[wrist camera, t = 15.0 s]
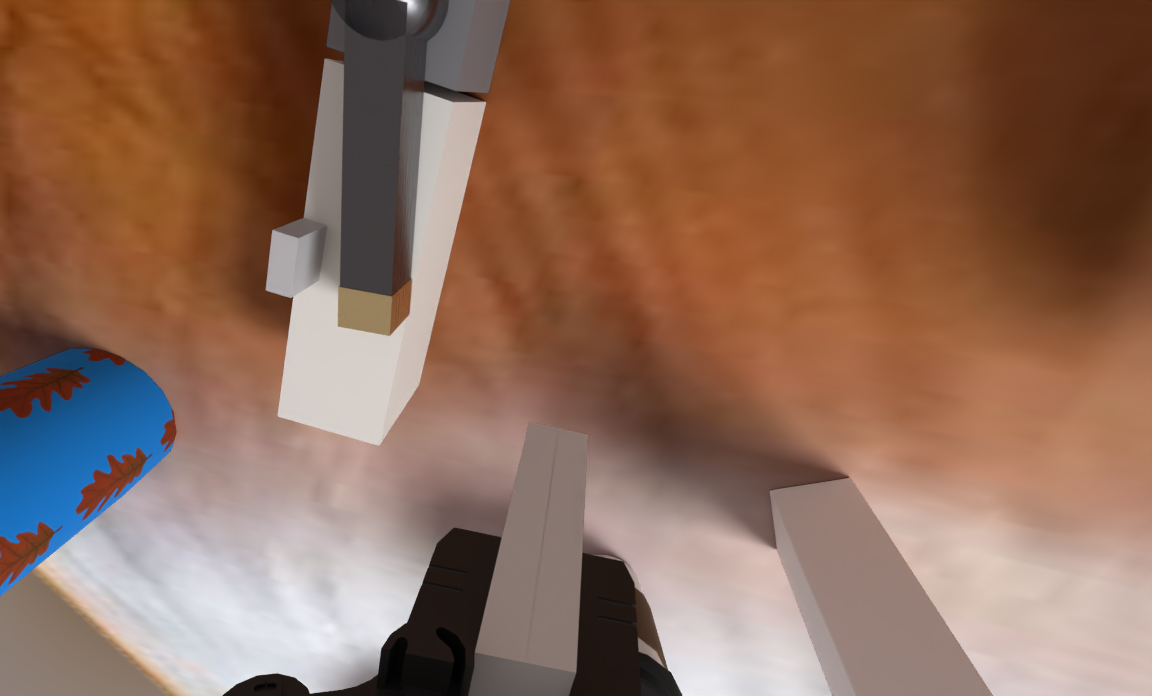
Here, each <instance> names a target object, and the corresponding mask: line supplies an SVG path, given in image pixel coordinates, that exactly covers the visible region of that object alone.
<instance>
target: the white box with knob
mask: <svg viewBox="0 0 1152 696" xmlns="http://www.w3.org/2000/svg"><path fill="white" fill-rule="evenodd" d="M509 4H510V0H449V5H448V11H447V15H446V18H445V21H444V23H443V25H442V27H441V29H440V30H439V31H438V33H437V34H436V35H435V36H434V37H433V38H431V39H430V40H429V41H427V53H426V68H425V82H424V97H423V112H422V126H421V141H420V155H419V170H418V184H417V199H416V213H415V228H414V242H413V257H412V272H411V278H412V290H411V304H410V314H409V316H408V317H407V318H406V319H405V320H404V321H403V322H402V323H401V324H400V325H399V327H398V328H397V329H396V330H395V331H394V332H393V333H392V334H391V335H390V336H387V335H382V334H376V333H370V332H365V331H359V330H354V329H348V328H343V327H338V287H339V286H340V252H341V198H342V145H343V91H344V61H339V60H332V59H326V58H325V60H324V67H323V75H322V83H321V90H320V98H319V105H318V113H317V121H316V128H315V136H314V144H313V151H312V159H311V166H310V174H309V182H308V189H307V197H306V204H305V212H304V218H302V219H299V220H297V221H294V222H292V223H289V224H287V225H284V226H281V227H279V228H276V229H274V230H272V238H271V247H270V256H269V265H268V274H267V283H266V291H269V292H273V293H276V294H279V295H282V296H286V297H289V298H292V297H293V303H292V311H291V319H290V326H289V334H288V342H287V349H286V357H285V364H284V372H283V380H282V387H281V395H280V402H279V410H278V417H282V418H285V419H288V420H292V421H295V422H299V423H302V424H306V425H309V426H313V427H316V428H319V429H323V430H326V431H330V432H333V433H337V434H340V435H343V436H347V437H350V438H354V439H357V440H361V441H364V442H368V443H371V444H374V445H378V446H379V445H380V444H381V442H382V441H383V439H384V438H385V436H386V435H387V433H388V432H389V430H390V428H391V427H392V425H393V424H394V422H395V421H396V419H397V418H398V416H399V415H400V413H401V412H402V410H403V409H404V407H405V406H406V404H407V402H408V401H409V399H410V398H411V396H412V395H413V393H414V392H415V390H416V389H417V387H418V386H419V383H420V379H421V374H422V370H423V366H424V362H425V358H426V353H427V349H428V345H429V341H430V336H431V332H432V328H433V324H434V320H435V315H436V311H437V307H438V303H439V299H440V294H441V290H442V286H443V282H444V278H445V273H446V269H447V265H448V261H449V257H450V252H451V248H452V244H453V240H454V236H455V231H456V227H457V223H458V219H459V214H460V210H461V206H462V202H463V198H464V193H465V189H466V185H467V181H468V177H469V172H470V168H471V164H472V160H473V156H474V151H475V147H476V143H477V139H478V135H479V130H480V126H481V122H482V118H483V114H484V109H485V105H486V102H485V101H482V100H479V99H476V98H473V97H470V96H467V95H464V94H462V93H459V92H456V91H463V92H479V93H488V92H489V88H490V84H491V80H492V76H493V71H494V67H495V63H496V59H497V55H498V50H499V46H500V42H501V38H502V34H503V29H504V25H505V21H506V17H507V13H508V8H509ZM344 38H345V22H344V21H343V20H342V19H341V17H340V16H339V15H338V13H337V12H336V10H335V8H334V6H333V4H332V6H331V14H330V22H329V29H328V37H327V45H326V47H329V48H332V49H335V50H338V51H341V52H344ZM427 81H428V82H427ZM430 82H431V83H430ZM432 83H434V84H432ZM435 84H437V85H435ZM438 85H440V86H438ZM441 86H443V87H441ZM444 87H446V88H444ZM447 88H449V89H447ZM450 89H452V90H450ZM453 90H454V91H453Z"/></svg>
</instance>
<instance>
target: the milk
mask: <svg viewBox="0 0 1152 696" xmlns="http://www.w3.org/2000/svg"><path fill="white" fill-rule="evenodd" d="M770 499H771V506H772V514H773V522H774V530H775V538H776V545H777V552H778V555H779V557H780V560H781V562H782V565H783V568H784V570H785V573H786V575H787V578H788V581H789V583H790V586H791V589H792V591H793V594H794V596H795V599H796V602H797V604H798V607H799V610H800V612H801V615H802V617H803V620H804V623H805V625H806V628H807V630H808V633H809V636H810V638H811V641H812V644H813V646H814V649H815V651H816V654H817V657H818V659H819V662H820V664H821V667H822V670H823V672H824V675H825V678H826V680H827V683H828V685H829V688H830V691H831V693H832V696H993V695H992V693H991V692H990V690H989V689H988V687H987V686H986V684H985V683H984V681H983V680H982V678H981V677H980V675H979V673H978V672H977V670H976V669H975V667H974V666H973V664H972V663H971V661H970V660H969V658H968V657H967V655H966V654H965V652H964V650H963V649H962V647H961V646H960V644H959V643H958V641H957V640H956V638H955V637H954V635H953V634H952V632H951V631H950V629H949V627H948V626H947V624H946V623H945V621H944V620H943V618H942V617H941V615H940V614H939V612H938V611H937V609H936V607H935V606H934V604H933V603H932V601H931V600H930V598H929V597H928V595H927V594H926V592H925V591H924V589H923V588H922V586H921V584H920V583H919V581H918V580H917V578H916V577H915V575H914V574H913V572H912V571H911V569H910V568H909V566H908V565H907V563H906V561H905V560H904V558H903V557H902V555H901V554H900V552H899V551H898V549H897V548H896V546H895V545H894V543H893V542H892V540H891V538H890V537H889V535H888V534H887V532H886V531H885V529H884V528H883V526H882V525H881V523H880V522H879V520H878V519H877V517H876V515H875V514H874V512H873V511H872V509H871V508H870V506H869V505H868V503H867V502H866V500H865V499H864V497H863V495H862V494H861V492H860V491H859V489H858V488H857V486H856V485H855V483H854V482H853V480H852V479H851V478H845V479H839V480H833V481H826V482H820V483H814V484H807V485H801V486H795V487H788V488H782V489H776V490H770Z"/></svg>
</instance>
